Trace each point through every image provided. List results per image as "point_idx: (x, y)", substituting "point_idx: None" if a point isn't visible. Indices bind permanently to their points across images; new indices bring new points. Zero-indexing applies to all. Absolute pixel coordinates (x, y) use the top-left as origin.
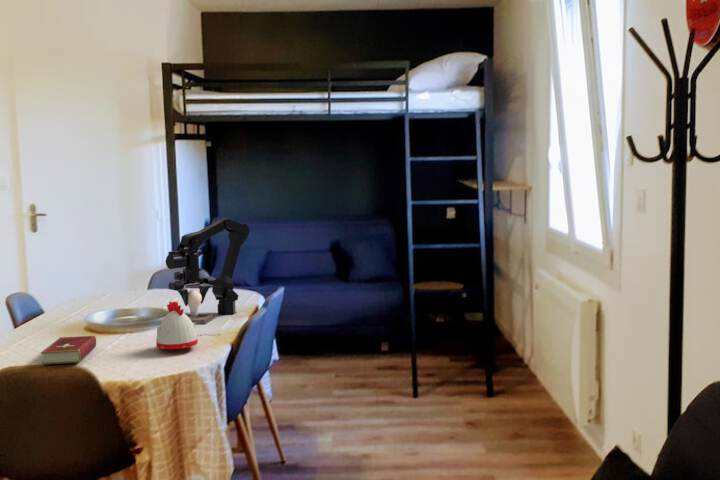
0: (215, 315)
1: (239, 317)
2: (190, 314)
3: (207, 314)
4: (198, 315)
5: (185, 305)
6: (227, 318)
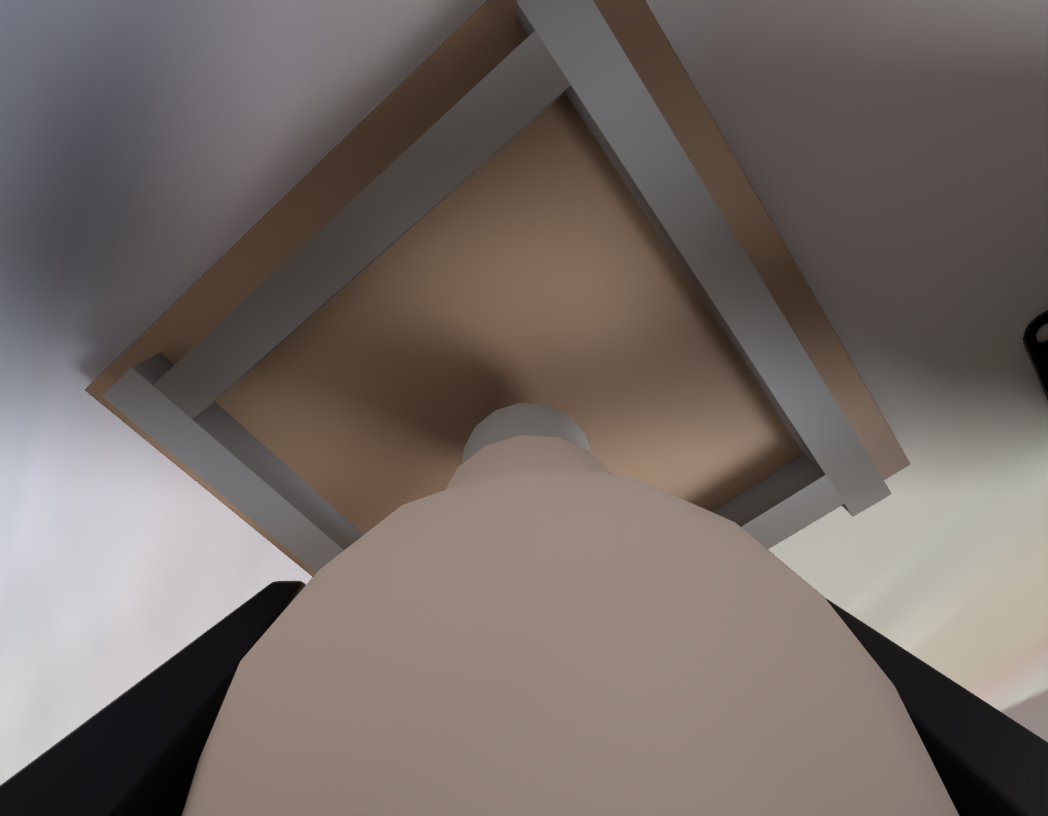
0: (898, 446)
1: (990, 669)
2: (613, 156)
3: (795, 429)
4: (702, 293)
5: (272, 602)
6: (878, 621)
